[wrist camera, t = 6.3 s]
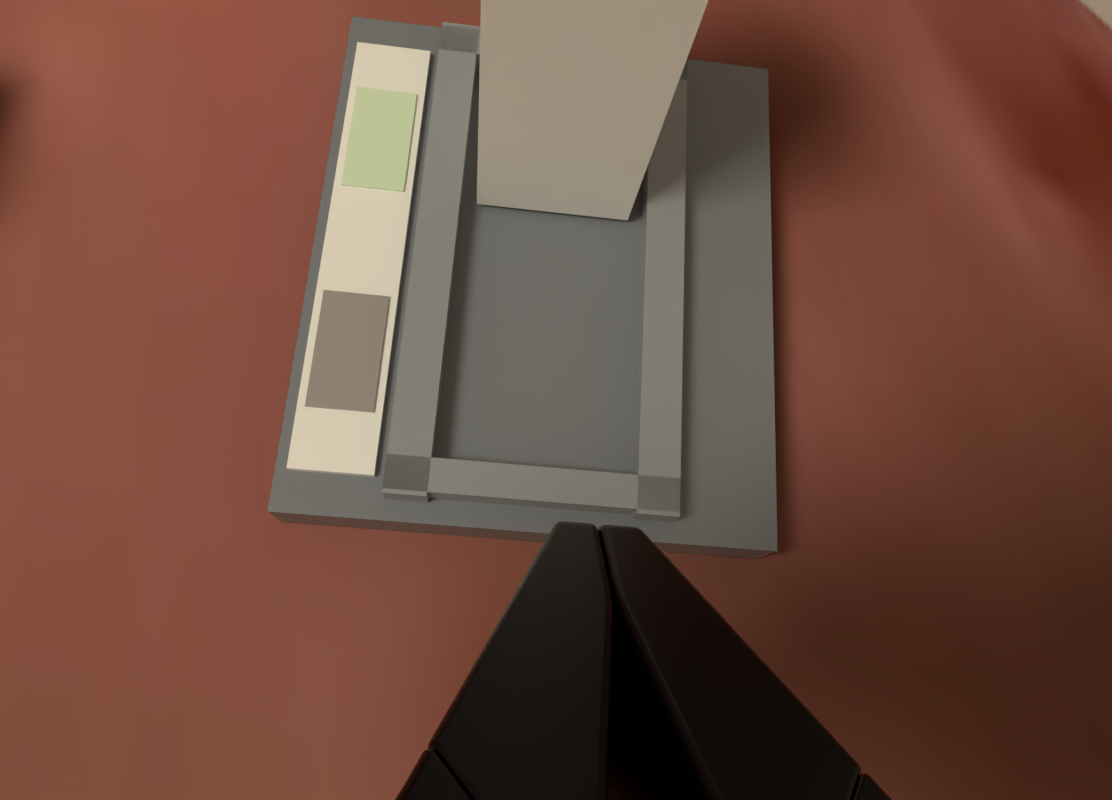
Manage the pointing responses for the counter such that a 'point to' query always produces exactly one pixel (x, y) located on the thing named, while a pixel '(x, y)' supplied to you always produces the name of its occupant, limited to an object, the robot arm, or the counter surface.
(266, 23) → the counter surface
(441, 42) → the docking station
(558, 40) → the cream tall block
